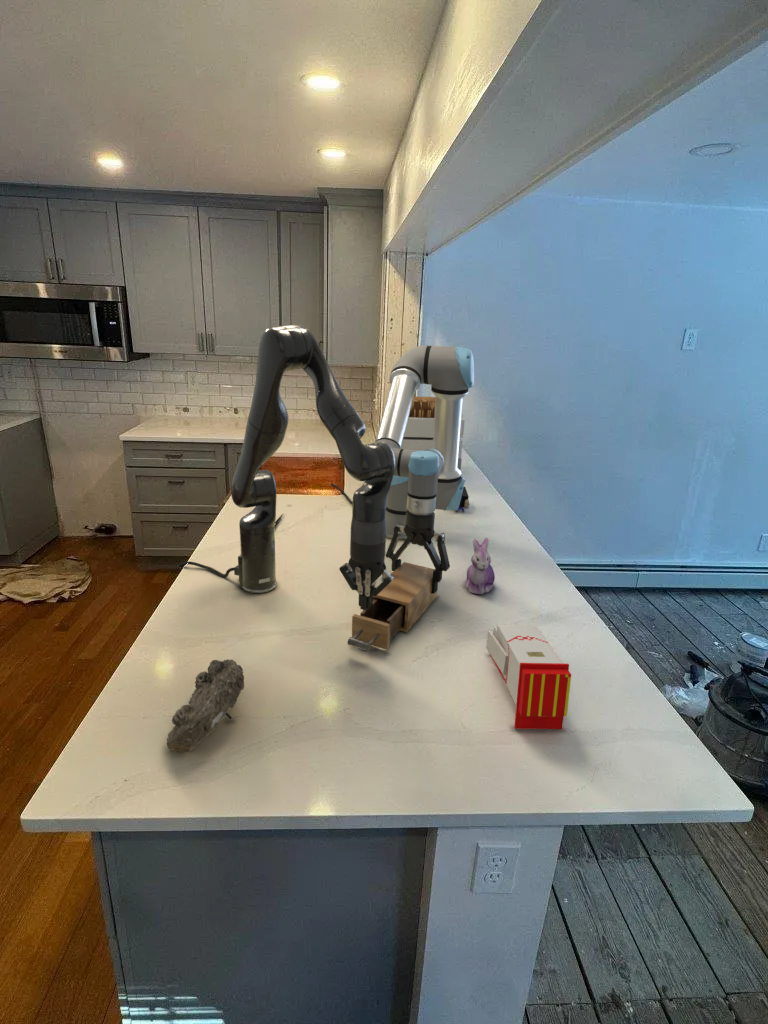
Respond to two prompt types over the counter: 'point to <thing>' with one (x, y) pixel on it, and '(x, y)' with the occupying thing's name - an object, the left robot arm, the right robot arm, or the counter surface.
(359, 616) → the drawer
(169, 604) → the counter surface
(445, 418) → the right robot arm
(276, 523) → the feather
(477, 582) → the figurine
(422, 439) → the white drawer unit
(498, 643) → the toy
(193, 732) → the fossil
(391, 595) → the cabinet
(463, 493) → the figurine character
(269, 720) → the counter surface
